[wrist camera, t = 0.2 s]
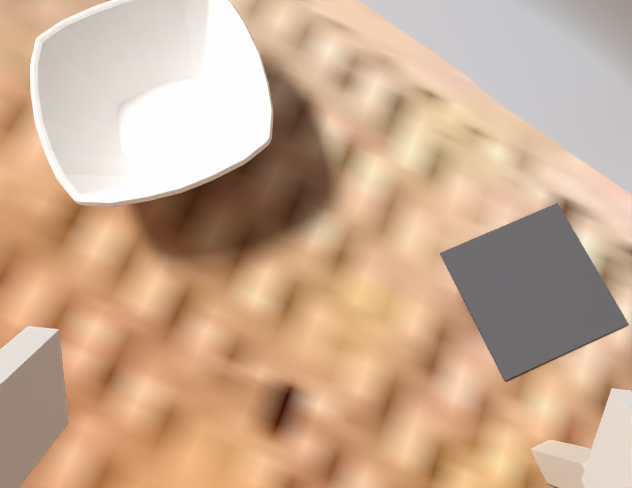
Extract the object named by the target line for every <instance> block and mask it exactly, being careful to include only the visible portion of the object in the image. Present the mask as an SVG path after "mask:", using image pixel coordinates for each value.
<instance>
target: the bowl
mask: <svg viewBox="0 0 632 488" xmlns="http://www.w3.org/2000/svg"><path fill="white" fill-rule="evenodd" d="M30 85H31V98H32V105H33V112H34V119H35V125H36V128H37V131H38V134H39V137H40V140H41V143H42V146H43V149H44V152H45V155H46V157H47V160H48V162H49V164H50V166H51V168H52V170H53V172H54V174H55V176H56V178H57V180H58V182H59V183H60V184H61V185H62V186H63V188H64V189H65V190H66V191H67V193H68V194H69V195H70V196H71V197H72V199H73V200H74V201H75V202H77V203H78V204H80V205H84V206H105V207H116V206H122V205H128V204H134V203H140V202H146V201H151V200H155V199H159V198H163V197H167V196H171V195H175V194H179V193H183V192H185V191H187V190H190V189H192V188H195V187H197V186H200V185H202V184H205V183H207V182H210V181H212V180H214V179H216V178H218V177H220V176H222V175H224V174H226V173H228V172H230V171H232V170H234V169H236V168H238V167H240V166H242V165H244V164H246V163H247V162H248V161H250V160H251V159H252V158H253V157H255V156H256V155H257V154H258V153H259V152H261V151H262V150H263V149H264V148H266V147H267V146H268V145H269V144H270V142H271V139H272V128H273V114H274V112H273V106H272V99H271V93H270V86H269V83H268V79H267V75H266V72H265V68H264V65H263V61H262V58H261V55H260V52H259V50H258V48H257V46H256V44H255V42H254V40H253V38H252V36H251V34H250V32H249V30H248V27H247V26H246V24H245V23H244V21H243V19H242V18H241V16H240V15H239V13H238V12H237V10H236V9H235V7H234V6H233V5H232V4H231V3H230V2H229V1H228V0H111V1H108V2H105V3H102V4H100V5H97V6H94V7H91V8H89V9H87V10H85V11H82V12H80V13H78V14H76V15H73V16H71V17H69V18H66V19H64V20H62V21H60V22H59V23H57V24H56V25H54V26H53V27H52V28H50V29H49V30H47V31H46V32H44V33H43V34H41V35H40V36H39V37H37V39H36V41H35V45H34V50H33V54H32V59H31V64H30Z"/></svg>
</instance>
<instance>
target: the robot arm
mask: <svg viewBox="0 0 632 488" xmlns="http://www.w3.org/2000/svg"><path fill="white" fill-rule="evenodd" d="M67 424H68V413H67V403H66V393H65V383H64V373H63V363H62V353H61V343H60V333H59V329H50V328H41V327H31V326H28V327H26V328H25V329H24V330H23V331H22V332H20V333H19V334H18V335H17V336H16V337H14V338H13V339H12V340H11V341H10V342H8V343H7V344H6V345H5V346H4V347H2V348H1V349H0V488H19V487H20V485H21V484H22V483H23V481H24V480H25V479H26V478H27V476H28V475H29V474H30V472H31V471H32V470H33V469H34V467H35V466H36V465H37V463H38V462H39V461H40V459H41V458H42V457H43V456H44V454H45V453H46V452H47V450H48V449H49V448H50V446H51V445H52V444H53V443H54V441H55V440H56V439H57V437H58V436H59V435H60V433H61V432H62V431H63V430H64V428H65V427H66V426H67ZM581 482H582V483H583V485H584V487H585V488H632V391H631V390H621V389H611V392H610V395H609V398H608V401H607V404H606V407H605V410H604V413H603V416H602V419H601V422H600V425H599V428H598V431H597V434H596V437H595V440H594V443H593V446H592V449H591V452H590V455H589V458H588V461H587V464H586V467H585V470H584V473H583V476H582V479H581Z"/></svg>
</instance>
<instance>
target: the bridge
mask: <svg viewBox="0 0 632 488" xmlns="http://www.w3.org/2000/svg"><path fill="white" fill-rule="evenodd" d="M530 450H531V452H532V454H533V456H534V458H535V460H536V462H537V464H538V466H539V468H540V470H541V472H542V474H543V476H544V478H545V480H546V482H547V483H548V484H550V485H553V486H555V487H558V488H585V487H584V485H583V483H582V482H581V479H582V476H583V473H584V470H585V467H586V464H587V461H588V458H589V455H590V452H591V449H590V448H586V447H581V446H577V445H572V444H568V443H563V442H559V441H554V440H548V441H546V442H544V443H542V444H539V445H537V446H535V447H533V448H531V449H530Z"/></svg>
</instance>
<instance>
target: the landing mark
mask: <svg viewBox="0 0 632 488" xmlns="http://www.w3.org/2000/svg"><path fill="white" fill-rule="evenodd" d="M440 255H441V257H442V259H443V261H444V262H445V264H446V266H447V268H448V270H449V272H450V274H451V276H452V278H453V280H454V282H455V284H456V286H457V288H458V290H459V292H460V294H461V296H462V298H463V300H464V302H465V304H466V306H467V308H468V310H469V312H470V314H471V316H472V318H473V320H474V322H475V324H476V325H477V327H478V329H479V331H480V333H481V335H482V337H483V339H484V341H485V343H486V345H487V347H488V349H489V351H490V353H491V355H492V357H493V359H494V361H495V363H496V365H497V367H498V369H499V371H500V373H501V375H502V377H503V379H504V381H506V380H508V379H510V378H512V377H514V376H517V375H519V374H521V373H523V372H525V371H527V370H530V369H532V368H534V367H536V366H538V365H540V364H543V363H545V362H547V361H549V360H551V359H553V358H556V357H558V356H560V355H562V354H564V353H566V352H569V351H571V350H573V349H575V348H577V347H580V346H582V345H584V344H586V343H588V342H590V341H593V340H595V339H597V338H599V337H601V336H603V335H606V334H608V333H610V332H612V331H614V330H616V329H619V328H621V327H623V326H625V325H627V324H628V323H627V321H626V319H625V317H624V316H623V314H622V312H621V311H620V309H619V307H618V306H617V304H616V302H615V300H614V299H613V297H612V295H611V294H610V292H609V290H608V288H607V287H606V285H605V283H604V282H603V280H602V278H601V277H600V275H599V273H598V271H597V270H596V268H595V266H594V265H593V263H592V261H591V260H590V258H589V256H588V254H587V253H586V251H585V249H584V248H583V246H582V244H581V242H580V241H579V239H578V237H577V236H576V234H575V232H574V231H573V229H572V227H571V225H570V224H569V222H568V220H567V219H566V217H565V215H564V214H563V212H562V210H561V208H560V207H559V205H558V203H557V204H554V205H552V206H550V207H547V208H545V209H543V210H540V211H538V212H536V213H533V214H531V215H529V216H526V217H524V218H521V219H519V220H517V221H514V222H512V223H510V224H507V225H505V226H503V227H500V228H498V229H496V230H493V231H491V232H489V233H486V234H484V235H482V236H479V237H477V238H474V239H472V240H470V241H467V242H465V243H463V244H460V245H458V246H456V247H453V248H451V249H449V250H446V251H444V252H442V253H440Z"/></svg>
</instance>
